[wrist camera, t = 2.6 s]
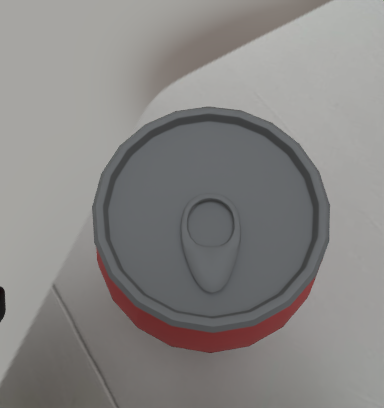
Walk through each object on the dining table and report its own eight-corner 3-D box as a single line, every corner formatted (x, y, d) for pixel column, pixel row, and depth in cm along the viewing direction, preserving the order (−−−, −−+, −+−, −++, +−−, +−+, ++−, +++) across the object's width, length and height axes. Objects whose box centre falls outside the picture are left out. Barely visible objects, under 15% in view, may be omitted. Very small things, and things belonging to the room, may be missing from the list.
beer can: (142, 341, 18) (49, 361, 7) (147, 222, 20) (84, 89, 9) (266, 340, 18) (382, 360, 7) (258, 221, 20) (332, 86, 9)
